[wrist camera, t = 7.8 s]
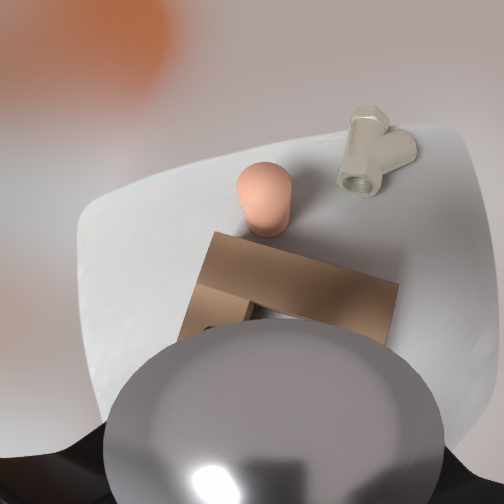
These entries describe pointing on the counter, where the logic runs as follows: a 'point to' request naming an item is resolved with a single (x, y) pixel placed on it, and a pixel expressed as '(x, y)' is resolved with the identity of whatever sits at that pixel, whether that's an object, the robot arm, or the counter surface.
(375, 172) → the pipe fitting
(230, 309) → the walnut block
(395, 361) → the tall metal pin
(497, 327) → the counter surface
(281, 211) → the short terracotta pin
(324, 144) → the counter surface
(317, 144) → the counter surface
